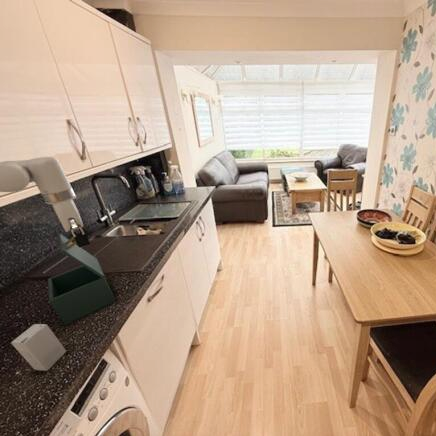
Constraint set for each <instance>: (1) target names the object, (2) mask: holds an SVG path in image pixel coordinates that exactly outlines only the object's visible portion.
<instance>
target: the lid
mask: <svg viewBox="0 0 436 436" xmlns="http://www.w3.org/2000/svg"><path fill="white" fill-rule="evenodd" d="M57 237H58V243H59V248H60V250H59V251H60V253H62V254H64V255H65V256H67V257H68V258H70V259H71V260H72V261H74V262H76V263H78V264H79V265H81V266H84V267H86V268H87V269H89V270H91V271H92V272H94V273H95V274H97V275H98V276H100V277H102V278H103V277H104V276H105V273H104V271H103V269H102V267H101V265H100V263H99V260H98V258H97V257H95V256H94V255H92V254H91V253H89V252H88V251H87V250H85V249H83V247H78V245H77V243H76V241H75V239H74V235H73V234H72V237H71V238H69V239H68V237H66V236H64V235H63V234H61V233H60V234H58V235H57ZM73 241H74V242H73Z"/></svg>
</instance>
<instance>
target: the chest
mask: <svg viewBox="0 0 436 436" xmlns="http://www.w3.org/2000/svg"><path fill="white" fill-rule="evenodd" d="M47 287H48V301H49V303H50V305H51V306H52V308H53V309H54V310H55V312H56V313H57V315H58V317H59V318H60V319H61V321H62V323H63V324H64V325H65V326H67V325H68V324H71V323H72V322H75V321H77V320H78V319H81V318H83V317H86V316H87V315H89V314H91V313H93V312H95V311H97V310H99V309H102V308H104V307H106V306H108V305H110V304H112V303H114V302H116V299H115V296H114V293H113V290H112V288H111V287H110V284H109V282H108V280H107V278H106V276H105V275H104V277H103V278H102V277H100V276H98V275H97V274H95V273H94V272H92V271H91V270H89V269H87V268H86V267H84V266H83V265H81V266H78V267H75V268H72V269H69V270H67V271H65V272H61V273H59V274H57V275H54V276H52V277H49V278H47Z"/></svg>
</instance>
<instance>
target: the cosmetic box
mask: <svg viewBox="0 0 436 436" xmlns="http://www.w3.org/2000/svg"><path fill="white" fill-rule="evenodd" d="M10 344H11V345H12V346H13V347H14V349H16V350H17V352H18V353H19V354H20V355H21V357H23V359H24V360H25V361H26V362H27V363H28V364H29V365H30V366H31V368H32V369H33V370H34V371H45V372H47V371H49V370H50V369H51V368H52V367H53V366H54V365H55V364H56V363H57V362H58V361H59V360H60V359H61V358H62V357H63V356H64V355H65V354H66V353H67V350H66V348H65V347H64V345H63V344H62V343H61V341H60V340H59V339H58V337H57V336H56V335H55V333H54V332H53V331H52V329H51V328H50V326H49V325H48V324H46V323H45V324H44V323H34V324H32V325H31V326H30V327H28V328H27V329H26V330H25V331H24V332H23V333H21V334H20V335H18V336H17V337H16V338H15V339H14V340H12V341H11V342H10Z"/></svg>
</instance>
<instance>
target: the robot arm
mask: <svg viewBox="0 0 436 436" xmlns="http://www.w3.org/2000/svg"><path fill="white" fill-rule="evenodd" d="M30 183H34V184H35V185H36V188H38V191H39V193H40V194H41V196H42V198H43V199H44V202H45V203H46V204H47V205H51V206H52V208H53V210H54V212H55V214H56V216H57V218H58V220H59V222H60V224H61V225H62V227H63V230H64V232H66V233H68V232H69V231H71V234H72V236H73V235H74V239H75V241H76V243H77V244H76V245H77V246H78V247H80V248H83V247H85V246H89V245H91V242H90V239H89V238H88V235H87V232H86V231H85V229H84V223H83V220H82V217H81V214H80V212H79V209H78V208H77V206H76V203H75V201H74V200H75V199H76V198H77V195H76V193H75V191H74V189H73V187H72V184H71V183H70V181H69V179H68V177H67V174H66V173H65V171H64V169H63V166H62V165H61V162H60V161H59V159H58V158H57V157H54V156H42V157H35V158H31V159H24V160H5V161H0V193H14V192H19V191H21V190H24V189H25V188H27V187H28V186H29V184H30ZM75 241H74V242H75Z"/></svg>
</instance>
